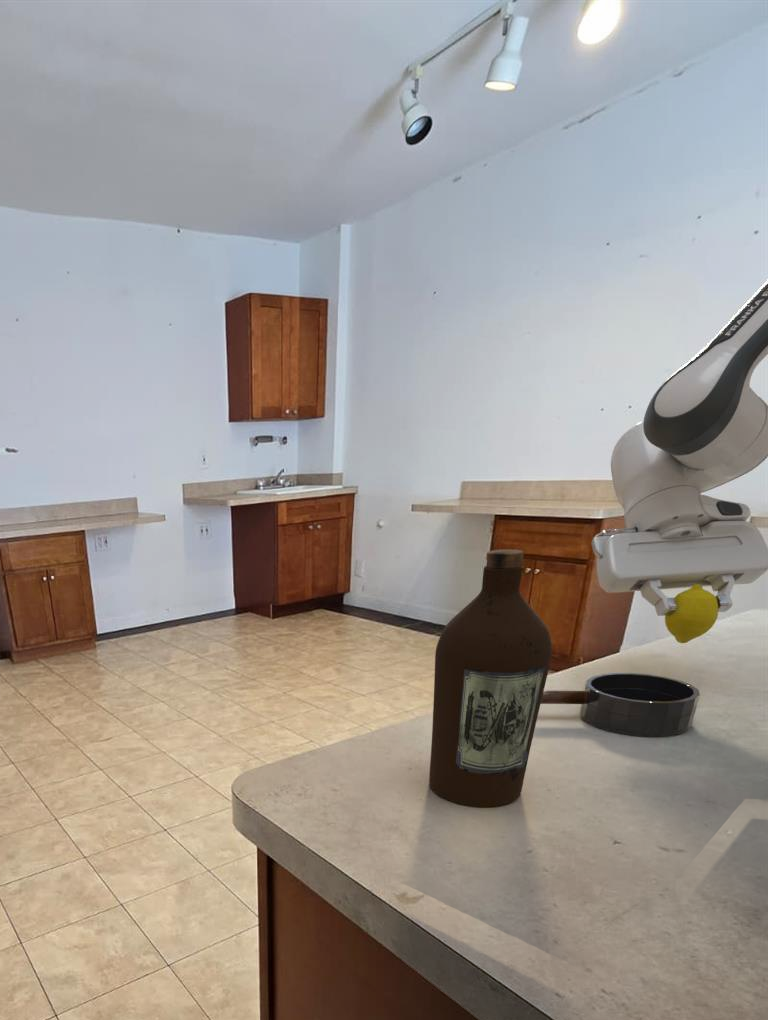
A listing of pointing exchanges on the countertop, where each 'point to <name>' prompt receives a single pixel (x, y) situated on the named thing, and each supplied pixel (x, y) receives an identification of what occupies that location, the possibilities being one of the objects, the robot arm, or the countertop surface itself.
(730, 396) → the robot arm
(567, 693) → the pan handle
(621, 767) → the countertop surface
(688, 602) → the fruit
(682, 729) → the pan
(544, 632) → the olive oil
